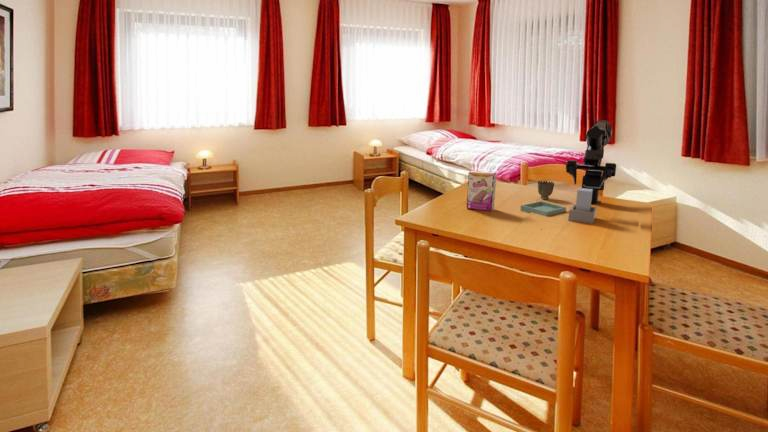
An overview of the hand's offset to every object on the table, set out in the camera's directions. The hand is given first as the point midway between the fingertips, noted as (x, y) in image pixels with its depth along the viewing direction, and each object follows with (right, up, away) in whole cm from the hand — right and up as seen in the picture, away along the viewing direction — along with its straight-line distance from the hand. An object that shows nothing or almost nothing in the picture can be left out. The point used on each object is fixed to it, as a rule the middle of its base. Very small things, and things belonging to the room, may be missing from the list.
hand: (587, 185), depth 187 cm
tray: (-14, -10, +11) cm, 21 cm away
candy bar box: (-40, -10, +16) cm, 44 cm away
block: (-3, -14, -2) cm, 14 cm away
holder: (-3, -14, -2) cm, 15 cm away
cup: (-6, -4, +32) cm, 33 cm away
